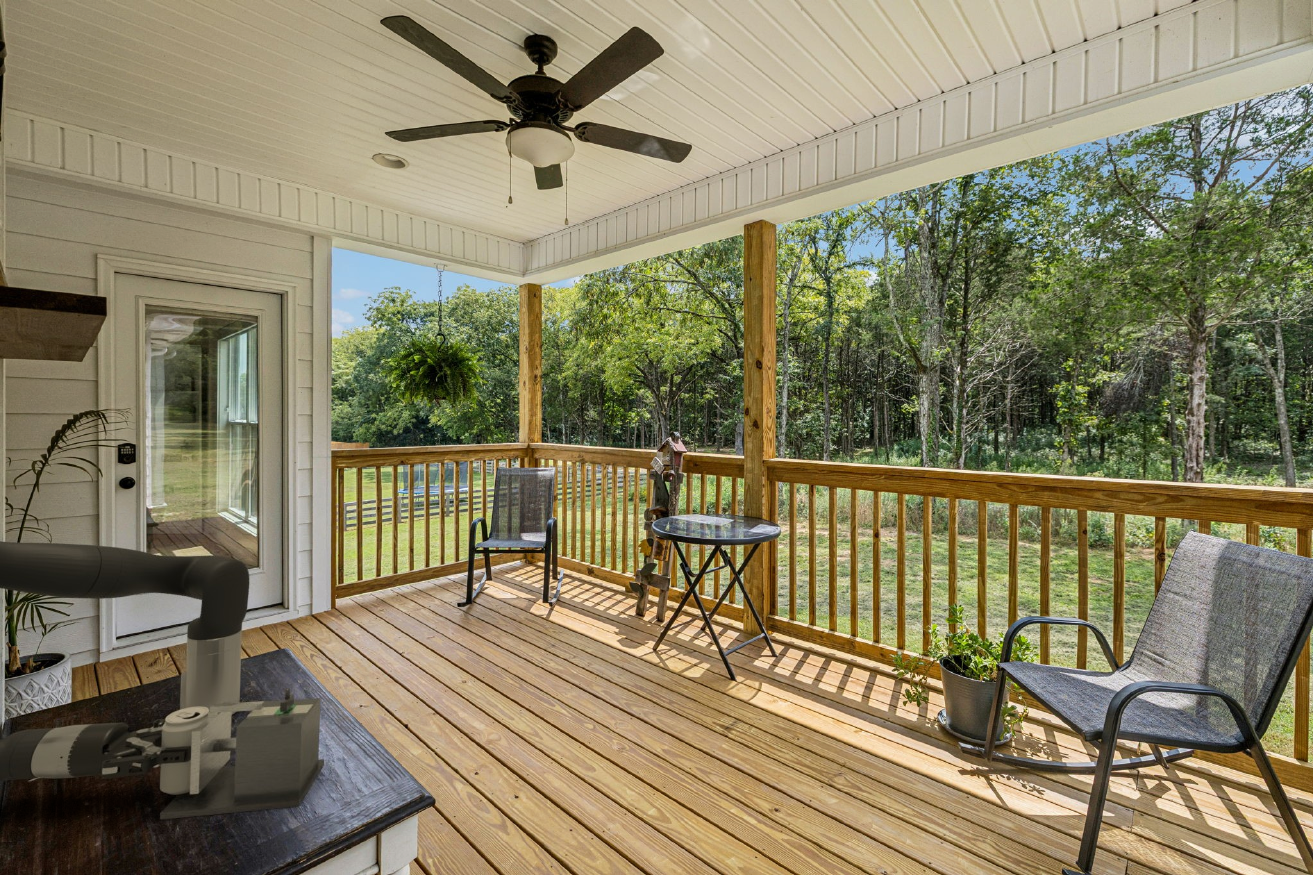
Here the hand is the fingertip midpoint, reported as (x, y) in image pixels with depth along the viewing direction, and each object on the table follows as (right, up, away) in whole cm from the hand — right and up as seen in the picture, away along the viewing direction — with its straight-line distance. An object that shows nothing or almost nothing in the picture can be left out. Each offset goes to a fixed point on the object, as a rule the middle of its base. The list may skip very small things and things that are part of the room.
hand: (202, 742), depth 96 cm
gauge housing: (+7, -9, +2) cm, 11 cm away
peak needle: (+12, +5, +3) cm, 14 cm away
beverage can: (-3, -7, 0) cm, 8 cm away
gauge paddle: (+5, -6, +1) cm, 8 cm away
